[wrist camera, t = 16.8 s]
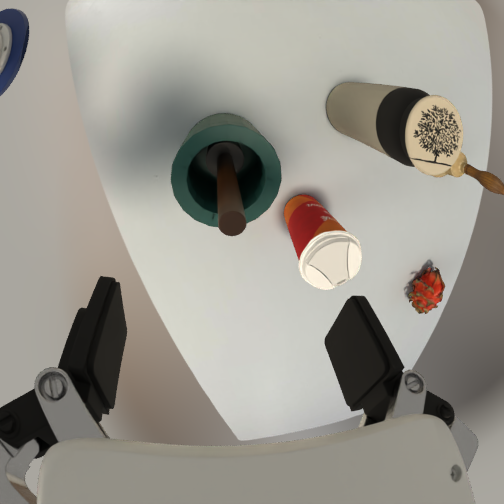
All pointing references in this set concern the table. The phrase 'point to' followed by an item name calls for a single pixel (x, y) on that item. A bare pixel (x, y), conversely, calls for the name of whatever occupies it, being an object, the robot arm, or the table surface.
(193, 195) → the jar
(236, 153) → the peg on round base
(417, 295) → the dragon fruit
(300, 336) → the table surface
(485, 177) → the hand bell
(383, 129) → the travel mug
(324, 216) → the paper cup
